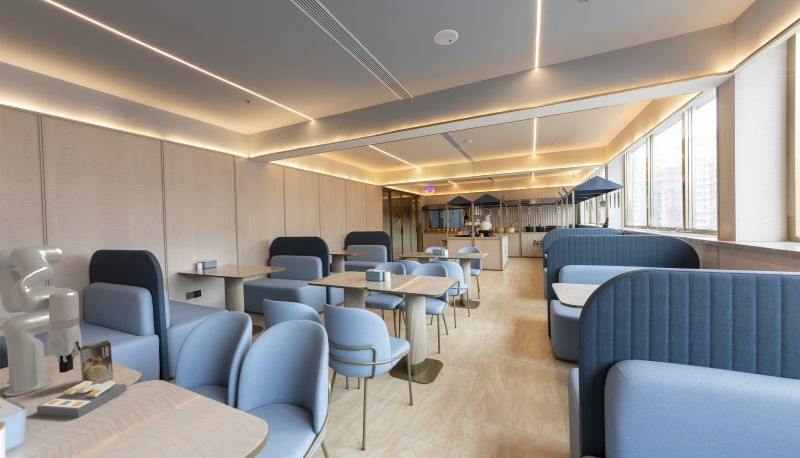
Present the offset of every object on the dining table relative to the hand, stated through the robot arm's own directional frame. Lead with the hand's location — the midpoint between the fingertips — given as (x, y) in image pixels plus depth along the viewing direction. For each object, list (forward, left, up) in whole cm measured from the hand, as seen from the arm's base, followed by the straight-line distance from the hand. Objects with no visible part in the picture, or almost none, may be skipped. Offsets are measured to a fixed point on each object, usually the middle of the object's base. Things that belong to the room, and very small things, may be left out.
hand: (66, 370), depth 113 cm
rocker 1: (+1, +3, -9) cm, 9 cm away
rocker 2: (+6, +3, -9) cm, 11 cm away
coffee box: (-8, +15, -13) cm, 21 cm away
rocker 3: (+12, +3, -9) cm, 15 cm away
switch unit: (+6, +1, -13) cm, 14 cm away
